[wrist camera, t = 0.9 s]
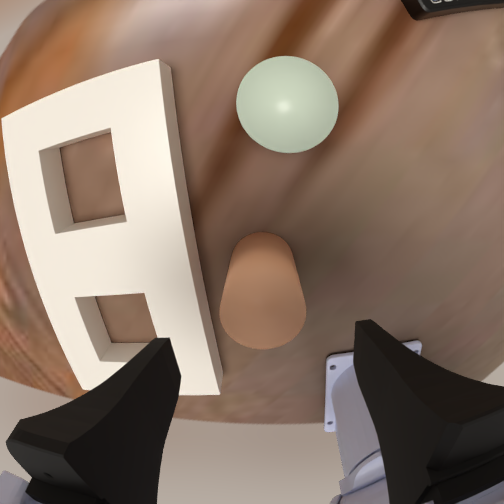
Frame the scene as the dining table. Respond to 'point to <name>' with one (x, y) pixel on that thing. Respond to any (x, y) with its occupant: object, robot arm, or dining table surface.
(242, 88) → the peg sage
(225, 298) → the peg terracotta
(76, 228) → the white flat block
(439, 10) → the multiport hub
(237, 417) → the dining table surface
